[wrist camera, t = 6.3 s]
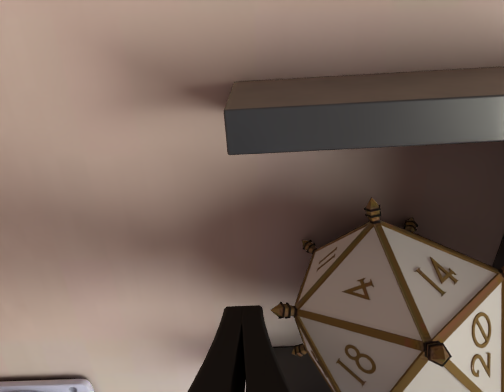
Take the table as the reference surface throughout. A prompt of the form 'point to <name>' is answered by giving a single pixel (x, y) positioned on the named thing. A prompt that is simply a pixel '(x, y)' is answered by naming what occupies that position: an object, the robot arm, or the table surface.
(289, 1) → the table surface
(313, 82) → the cubby
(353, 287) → the game die
